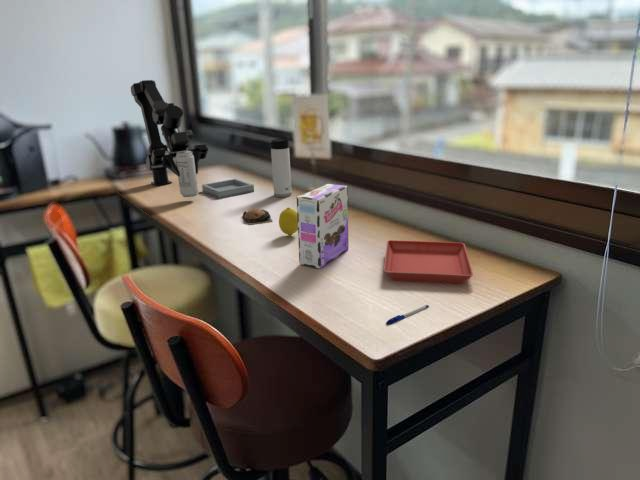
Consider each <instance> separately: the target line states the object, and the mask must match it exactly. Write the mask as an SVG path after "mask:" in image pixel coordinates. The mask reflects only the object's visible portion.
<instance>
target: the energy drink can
mask: <svg viewBox="0 0 640 480" xmlns="http://www.w3.org/2000/svg"><path fill="white" fill-rule="evenodd" d="M174 160H175V164H176V166H177V169H178V171H179V174H180V177H178V176H177V178H178V186H179V192H180V195H182V196H181V197H183V198H193V197H196V196H198V194H199V186H198V180H197V174H196V169H195V162H194V156H193V154H192V153H191V151H179V152H177V155H176V157H175V158H174Z"/></svg>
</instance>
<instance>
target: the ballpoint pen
mask: <svg viewBox="0 0 640 480" xmlns="http://www.w3.org/2000/svg"><path fill="white" fill-rule="evenodd" d="M429 307H430V305H423V306H421V307H417V308H416V309H413V310H412V311H409V312H407V313H404V314H398V315H396V316H394V317H391V318H390V319H388V320H387V321H386V323H385V324H386V325H387V326H390V325H391V324H395V323H397V322H398V321H401V320H403V319H406V318H408V317H410V316H413V315H414V314H417V313H420V312H421V311H423V310H426V309H428V308H429Z"/></svg>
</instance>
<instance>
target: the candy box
mask: <svg viewBox="0 0 640 480" xmlns="http://www.w3.org/2000/svg"><path fill="white" fill-rule="evenodd" d="M348 193H349V191H348V185H344V184H343V185H342V184H336V183H335V184H334V183H326V184H324V185H323V186H320V187H318V188H315V189H313V190H311V191H308V192H305V193H303V194H301V195H298V196H296V212H297V218H298V230H297V234H298V235H297V236H298V237H297V238H298V261H299V265H303V266H308V267H310V268H315V269H321V268H324V267H325V266H326V265H327V264H329V263H331V262H332V261H334V260H335V259H337V258H338V257H339V256H341V255H342V254H344V253H345V252H347V251H348V250H349V246H350V245H349V209H348V208H349V203H348V202H349V200H348V199H349V198H348Z"/></svg>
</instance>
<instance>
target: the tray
mask: <svg viewBox="0 0 640 480" xmlns="http://www.w3.org/2000/svg"><path fill="white" fill-rule="evenodd" d="M201 188H202V192H204V193H205V194H207V195H211V196H213V197H215V198H217V199H220V200H221V199H225V198H228V197H229V198H230V197H234V196H239V195H243V194H248V193H253V192H255V185H254V184H253V183H249V182H247V181H244V180H241V179H238V178H232V179H231V178H230V179H226V180H225V179H224V180H221V181H220V180H219V181H216V182H209V183H205V184H202V185H201Z"/></svg>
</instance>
